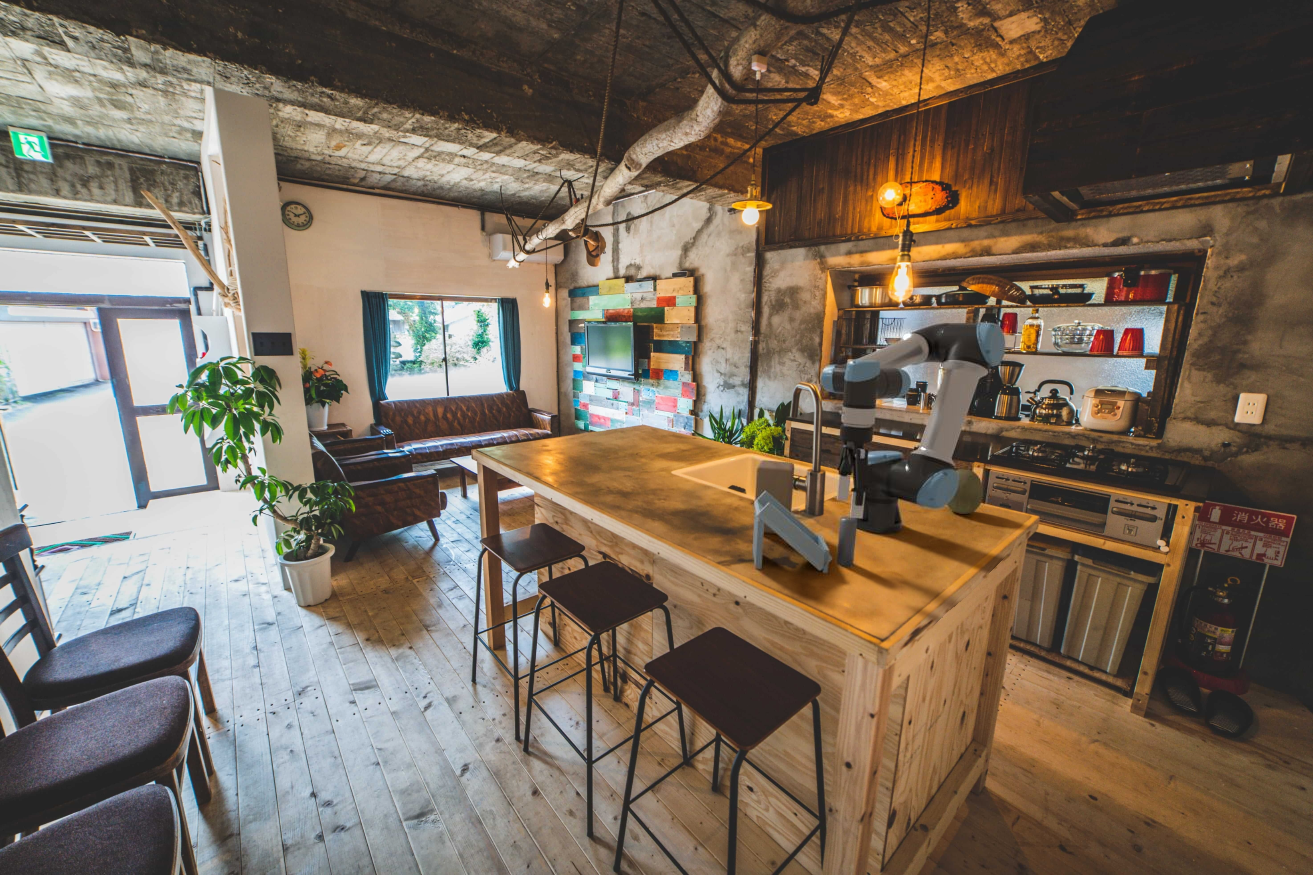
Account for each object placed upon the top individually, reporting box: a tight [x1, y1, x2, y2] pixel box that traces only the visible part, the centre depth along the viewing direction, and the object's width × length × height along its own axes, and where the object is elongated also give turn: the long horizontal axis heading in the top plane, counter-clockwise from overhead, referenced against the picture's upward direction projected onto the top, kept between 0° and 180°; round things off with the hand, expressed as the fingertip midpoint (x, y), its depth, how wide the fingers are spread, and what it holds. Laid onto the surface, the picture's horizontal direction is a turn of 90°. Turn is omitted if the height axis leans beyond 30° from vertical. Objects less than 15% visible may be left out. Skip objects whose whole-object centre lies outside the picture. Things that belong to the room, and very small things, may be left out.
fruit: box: [946, 468, 984, 515], centre depth 169 cm, size 11×11×15 cm
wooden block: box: [753, 459, 795, 535], centre depth 152 cm, size 10×10×20 cm
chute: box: [752, 491, 834, 574], centre depth 130 cm, size 19×10×17 cm, turn 83°
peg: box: [836, 515, 858, 568], centre depth 130 cm, size 4×4×12 cm
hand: (848, 508), depth 128 cm, fingers open, 13 cm apart
